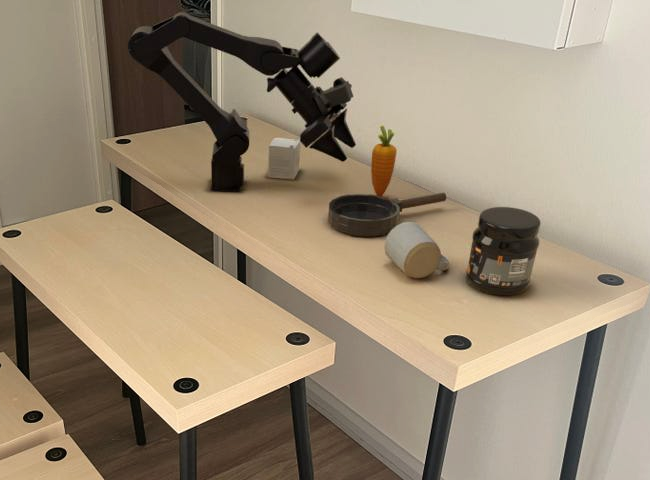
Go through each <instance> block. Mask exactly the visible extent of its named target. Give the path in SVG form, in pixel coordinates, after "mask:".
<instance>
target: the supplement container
mask: <svg viewBox="0 0 650 480" xmlns="http://www.w3.org/2000/svg"><path fill="white" fill-rule="evenodd" d="M477 222H478V223H477V227H476V228H475V229H474V231H473V232H472V242H471V247H470V253H469V257H468V263H467V268H466V272H465V278H466V280H467V282H468V283H469V284H470V285H471V286H472V287H473V288H475V289H477V290H478V291H480V292H483V293H486V294H489V295H495V296H514V295H518V294H520V293H522V292H524V291H526V290H527V288H529V286H530V284H531V280H532V279H531V278H532V274H533V269H534V264H535V261H536V256H537V252H538V248H539V247H540V243H541V241H540V237H539V236H538V235H539V232H540V228H541V224H542V223H541V219H540V218H539V217H538V216H537V214H534V213H532V212H530V211H528V210H525V209H521V208H516V207H510V206H496V207H489V208H487V209H484V210H483V211H481V212H480V213H479V217H478V221H477Z"/></svg>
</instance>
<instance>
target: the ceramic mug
mask: <svg viewBox="0 0 650 480" xmlns="http://www.w3.org/2000/svg"><path fill="white" fill-rule="evenodd" d="M383 247H384V253H385V255H386V257H387V258H388V259H389V260H390V261H392V263H393V264H394V265H396V267H398V269H400V271H402V272H403V273H404V274H405V275H407V276H408V277H411V278H413V279H422V278H423V279H424V278H425V277H428V276H430V275H431V274H433V273H434V272H435V271H436V270H439V271H446V270H447V269H448V267H449V266H450V261H449V259H448V258H447V257H446V256H444V255H443V254H442V251H441V249H440V247H439V244H438V243H437V242H436V241H435V240H434V239H433V238H432V237H431V236H430V235H429V233H427V232H426V231H425V230H424V228H423V227H422V226H421V225H420V224H418V223H416V222H413V221H405V222H402V223H398V225H397V226H396V227H394V228H393V229H392V230H391V231H390V233H387V235H386V237H385V241H384V246H383Z"/></svg>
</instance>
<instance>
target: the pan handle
mask: <svg viewBox="0 0 650 480" xmlns="http://www.w3.org/2000/svg"><path fill="white" fill-rule="evenodd" d="M389 200H391V201H392V202H394V203H396V204H397V205H398V206H399V208H400V213H402V212H403V210H405V209H410V208H416V207H421V206H426V205H432V204H437V203H443V202H446V201H447V194H446V193H445V192H439V193H432V194H427V195H421V196H416V197H410V198H405V199H398V198H395V197H394V198H389Z"/></svg>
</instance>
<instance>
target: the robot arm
mask: <svg viewBox="0 0 650 480" xmlns="http://www.w3.org/2000/svg"><path fill="white" fill-rule="evenodd" d="M181 38H185V39H188V40H191V41H193V42H195V43H197V44H201V45H203V46H206V47H209V48H212V49H214V50H217V51H219V52H223V53H225V54H228V55H229V56H230V55H231V56H233V57H236V58H238V59H239V60H241V61H243V62H244V63H245V64H246V65H248V66H249V67H251V68H252V69H253V70H255V71H257V72H259V73H261V74H262V75H264V76H269V77H267V78H266V82H267V86H266V92H267V93H270V92H271V91H273V90H274V89H275V88H277V90H278V91H279V92H280V93H281V94H282V96H283V97H284V98H285V99H286V100H287V102H288V103H289V104H290V105H291V106H292V109H291V112H292V113H293V114H294V115H295V114H296V113H297V114H298V115H299V116H300V117H301V118H302V120H303V121H304V122H305V125H304V127H305V129H303V130H302V132H301V133H299V140H300V144H301V145H303V146H304V147H305V148H309V149H314V150H316V151H318V152H320V153H323V154H325V155H327V156H329V157H332V158H334V159H336V160H338V161H340V162H342V163H344V162H346V160H348V157H347V155H346V153H345V151H344V150H343V148H342V147H341V145H340V143H339V142H341V143H343V144H344V145H346V146H347V147H349V148H351V149H353V148H354V147H356V145H357V144H356V140H355V139H354V137H353V135H352V132H351V130H350V128H349V126H348V123H347V112H348V108H346V107H347V106H348V104H347V103H349V102H351V101H352V98H354V94H353V91H352V88H353V86H352V84H351V83H350V82H349V80H347V81H346V80H345V79H344V78H343V77H342V76H341V77H338V78H336V79H335V80H333V83H332V86H330V87H329V88H327V89H325V90H324V89H323V88H322V87H321V86H318V85H317V86H314V85H313V84H312V82H311V81H310V80H309V79H308V77H309V78H311V79H312V78H314V79H316V78H317V79H320V77H322V76H323V75H324V74H325V73H326V72H327V71H328V70H330V68H332V67H333V66H334V65H335V64H336V63H337V62H338V61H339V60H341V57H340V56H339V54H338V52H337V51H336V50H335V48H334V47H333V46H332V45H331V43H330V42H329V41H326V39H325V38H324V37H323V36H322V35H321V34H320V33H319V32H315V33H314V35H312V37H310V39H309V40H308V41H307V42H306V43H305V44H304V45H303V46H301V48H300V49H298V48H293V47H286V46H282V45H281V43H279V41H277V40H276V39H271V38H264V37H259V36H247V35H242V34H241V33H237V32H235V31H232V30H229V29H227V28H224V27H222V26H219V25H216V24H213V23H210V22H208V21H205V20H203V19H200V18H198V17H195V16H192V15H190V14H189V13H187V12H185V11H180V12H177V13H176V14H174V15H173V16H172V17H170V18H167V19H164V20H162V21H160V22H158V23H156V24H154V25H152V26H150V25H142V26H139V27H137V28H136V29H135V30H134V31H133V33H132V35H131V36H130V38H129V40H128V42H127V51H128V54H129V55H130V57H131V58H132V59H133V60H134V61H135V62H137V63H138V64H139V65H141V66H142V67H144V68H145V69H146V70H148V71H151V72H152V73H154V74H156V75H158V76H159V77H160V78H162V79H163V81H165V82H166V84H168V86H169V87H170V88H172V90H173V91H174V92H175V93H176V94H177V95H179V97H181V99H182V100H183V101H184V102H185V103H186V104H187V105H188V106H189V107H190V108H191V109H192V110H193V111H194V112H195V113H196V114H197V115H198V116H199V117H200V118H201V119H202V120H203V121H204V122H205V123H206V124H207V126H208V127H209V128H210V131H211V132H212V134H213V136H214V137H215V139H216V140H215V141H214V142H213V148H212V154H211V155H212V156H211V159H210V164H211V165H210V166H211V167H210V168H211V169H210V170H211V171H210V174H211V175H210V176H211V178H210V180H211V183H210V187H209V190H210V191H219V192H241V189H242V187H243V186H244V183H245V163H242V156H243V155H245V153H247V152H248V151H249V147H250V129H249V127H248V121H247V120H245V119H244V118H243V117H241V116H240V114H239V113H238V111H237V110H236V109H235V108H233V109H232V110H231V112H228V111H226V110H224V109H223V108H221V107H220V105H218V103H217V102H216V101H215V100H213V99H212V97H211V96H210V95H209V94H208V93H207V92H206V91H205V90H204V89H203V88H202V87H201V86H200V85H199V84H198V83H197V82H196V81H195V80H194V79H193V78H192V77H191V76H190V74H189V73H187V71H185V69H184V68H182V65H180V64H179V63H178V62H177V61H176V60H175V59H174V57H173V55H172V53H171V52H170V50H169V48H168V46H169V45H171V44H173V43H174V42H176V41H177V40H179V39H181ZM299 66H300V67H301V69H302V70H303V71H304V72H305V74H306V75H307V76H308V77H307V76H306V75H305V74H304V73H303V71H302V70H301V69H300V68H299ZM288 69H289V70H288ZM272 76H273V77H272ZM338 141H339V142H338Z"/></svg>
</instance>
